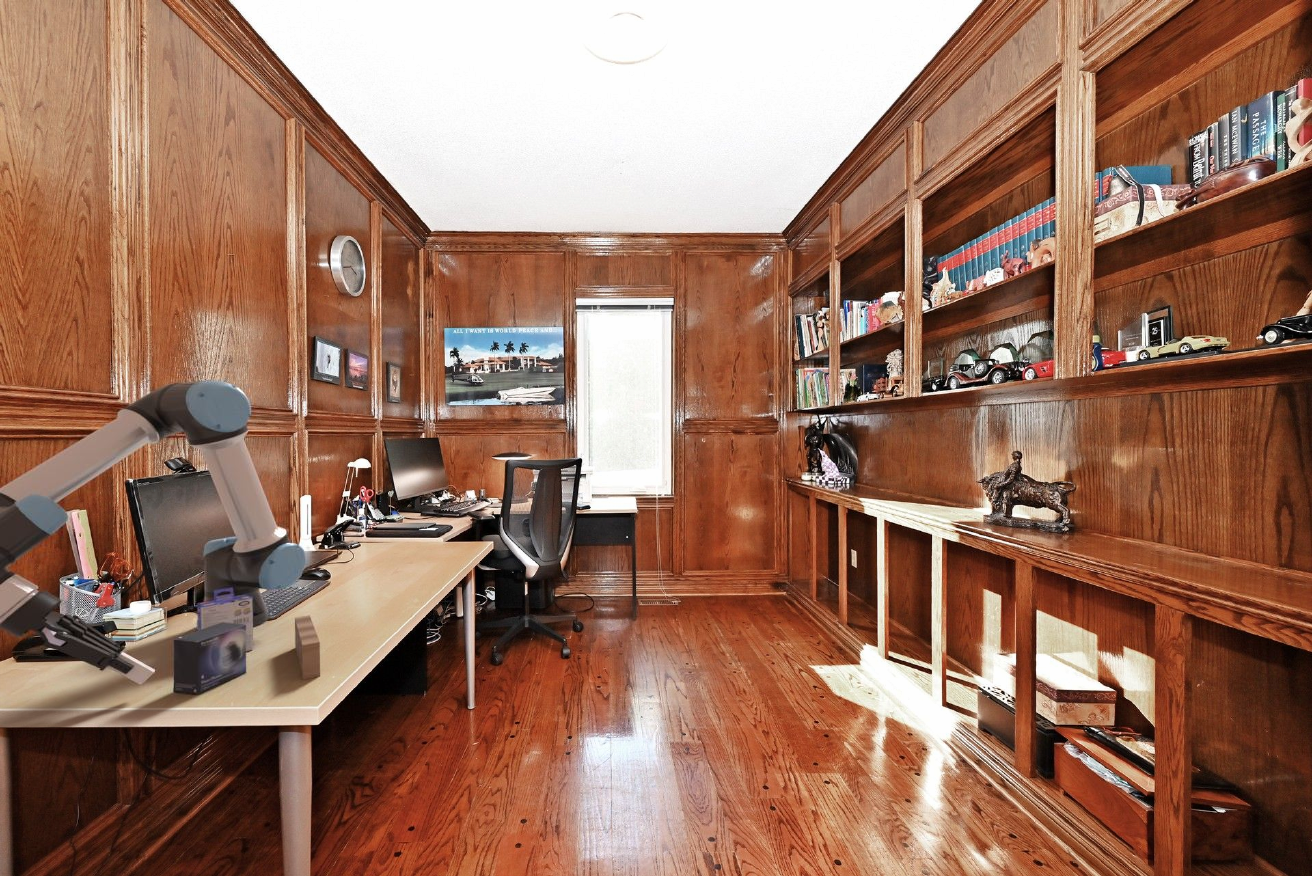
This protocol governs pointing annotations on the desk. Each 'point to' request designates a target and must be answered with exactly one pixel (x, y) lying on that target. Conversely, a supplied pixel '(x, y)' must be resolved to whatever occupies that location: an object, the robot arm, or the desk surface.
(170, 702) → the desk surface
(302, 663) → the walnut board
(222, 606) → the ink cartridge box
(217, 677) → the small box
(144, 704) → the desk surface
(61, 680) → the desk surface
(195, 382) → the robot arm
